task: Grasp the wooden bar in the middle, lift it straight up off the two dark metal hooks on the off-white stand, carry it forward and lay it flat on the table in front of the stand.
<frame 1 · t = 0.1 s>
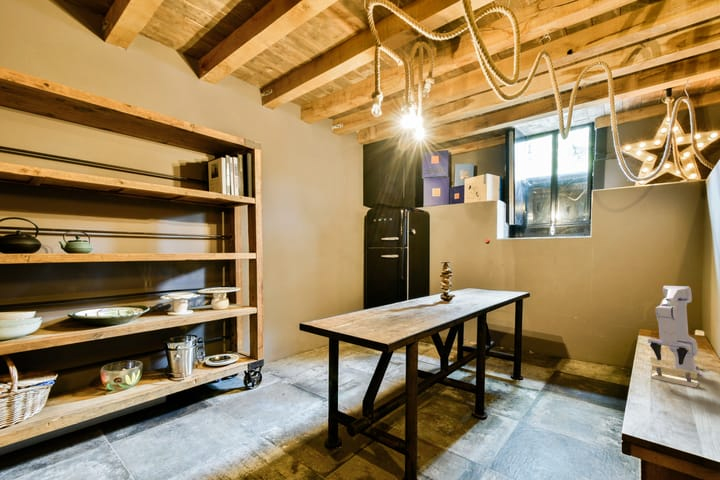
hand: (669, 362, 147), 10 cm above the table, tool pointing down, fingers open, 7 cm apart
wooden bar: (673, 373, 151), point 3 cm above the table, touching hook stand
beverage can: (683, 363, 176), on the table
hook stand: (674, 380, 150), on the table
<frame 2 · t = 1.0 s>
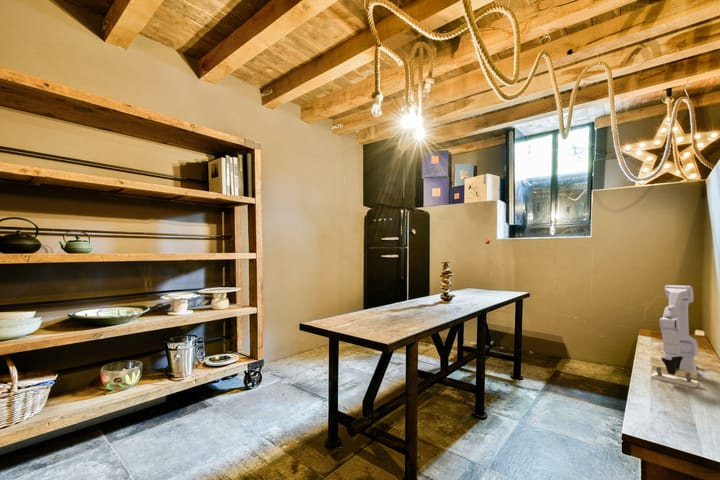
hand: (673, 372, 151), 4 cm above the table, tool pointing down, fingers open, 7 cm apart
nothing on the table moved.
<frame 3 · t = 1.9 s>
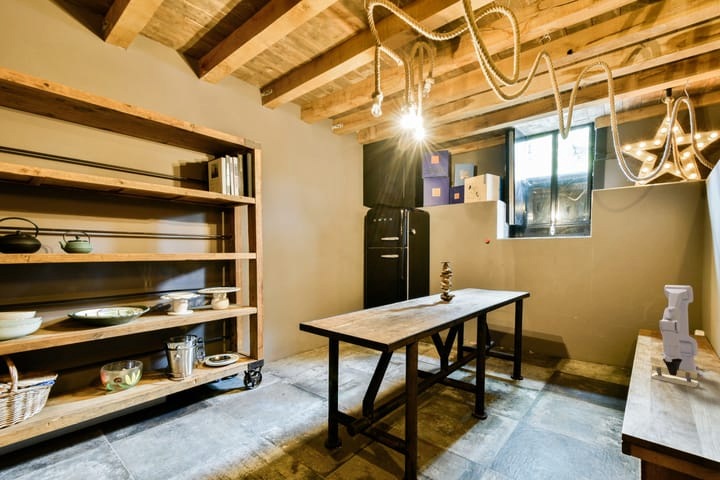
hand: (673, 374, 151), 3 cm above the table, tool pointing down, fingers closed on wooden bar, 2 cm apart
wooden bar: (673, 373, 151), point 3 cm above the table, touching gripper, hook stand
everything else where it was.
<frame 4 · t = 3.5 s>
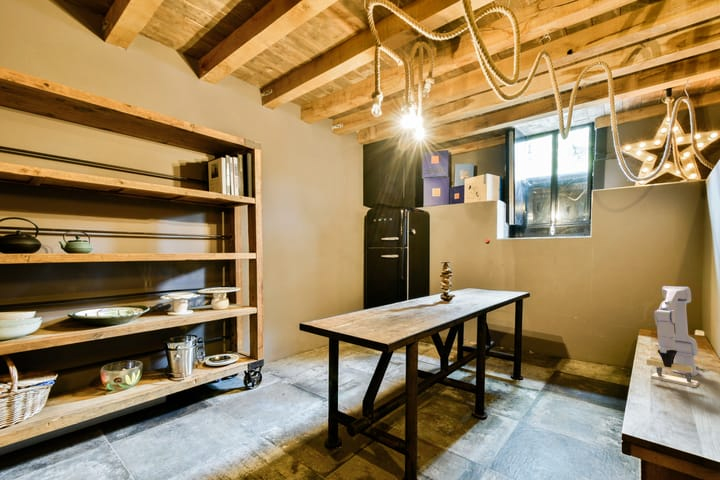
hand: (668, 366, 147), 8 cm above the table, tool pointing down, fingers closed on wooden bar, 2 cm apart
wooden bar: (668, 368, 147), point 7 cm above the table, touching gripper
everything else where it was.
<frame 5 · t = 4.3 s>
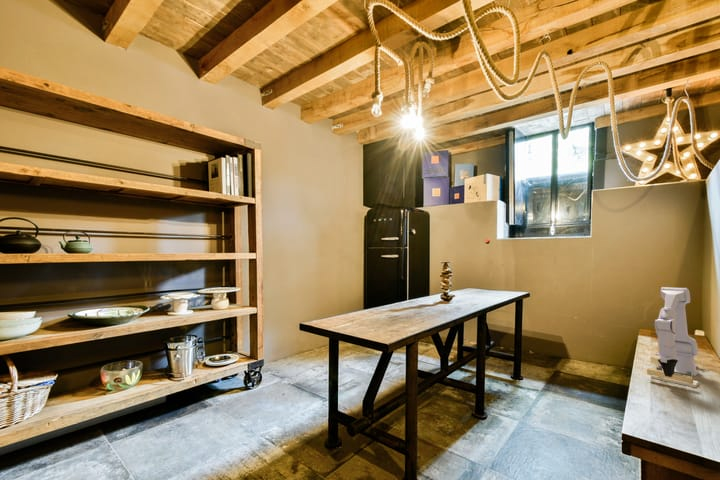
hand: (669, 375, 146), 4 cm above the table, tool pointing down, fingers closed on wooden bar, 2 cm apart
wooden bar: (669, 378, 146), point 3 cm above the table, touching gripper
everything else where it was.
when the fingers open (2 cm above the table, at t = 4.9 s): wooden bar stays where it is, on the table.
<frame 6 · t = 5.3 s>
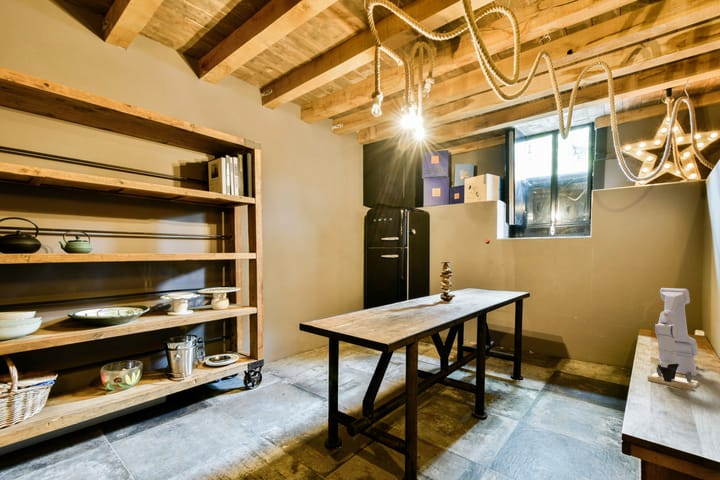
hand: (669, 380, 146), 2 cm above the table, tool pointing down, fingers open, 5 cm apart
wooden bar: (670, 385, 146), on the table
everything else where it was.
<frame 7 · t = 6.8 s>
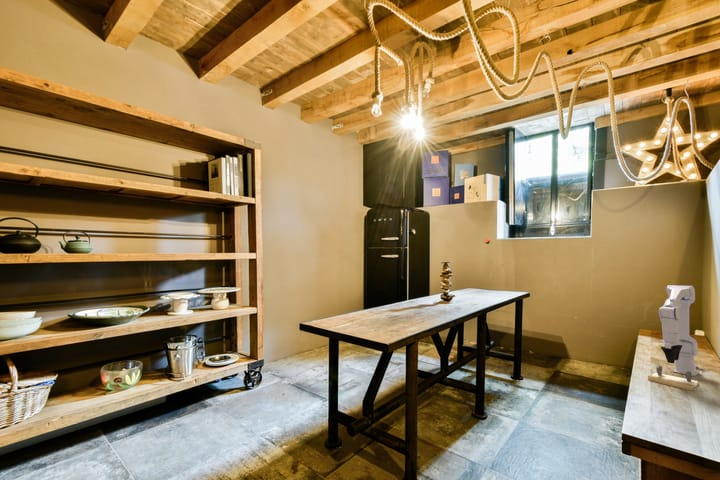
hand: (673, 361, 151), 9 cm above the table, tool pointing down, fingers open, 7 cm apart
nothing on the table moved.
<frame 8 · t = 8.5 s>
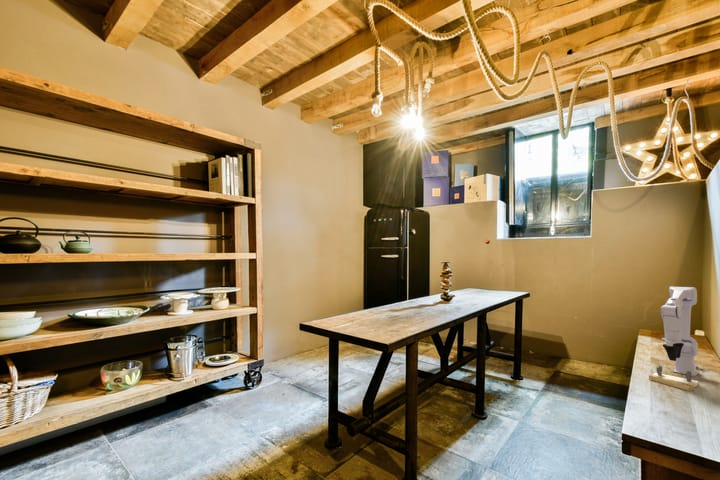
hand: (674, 359, 153), 9 cm above the table, tool pointing down, fingers open, 7 cm apart
at the end: wooden bar 0.0 cm from the target spot, on the table; wooden bar tilted 0°; the gripper is holding nothing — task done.
